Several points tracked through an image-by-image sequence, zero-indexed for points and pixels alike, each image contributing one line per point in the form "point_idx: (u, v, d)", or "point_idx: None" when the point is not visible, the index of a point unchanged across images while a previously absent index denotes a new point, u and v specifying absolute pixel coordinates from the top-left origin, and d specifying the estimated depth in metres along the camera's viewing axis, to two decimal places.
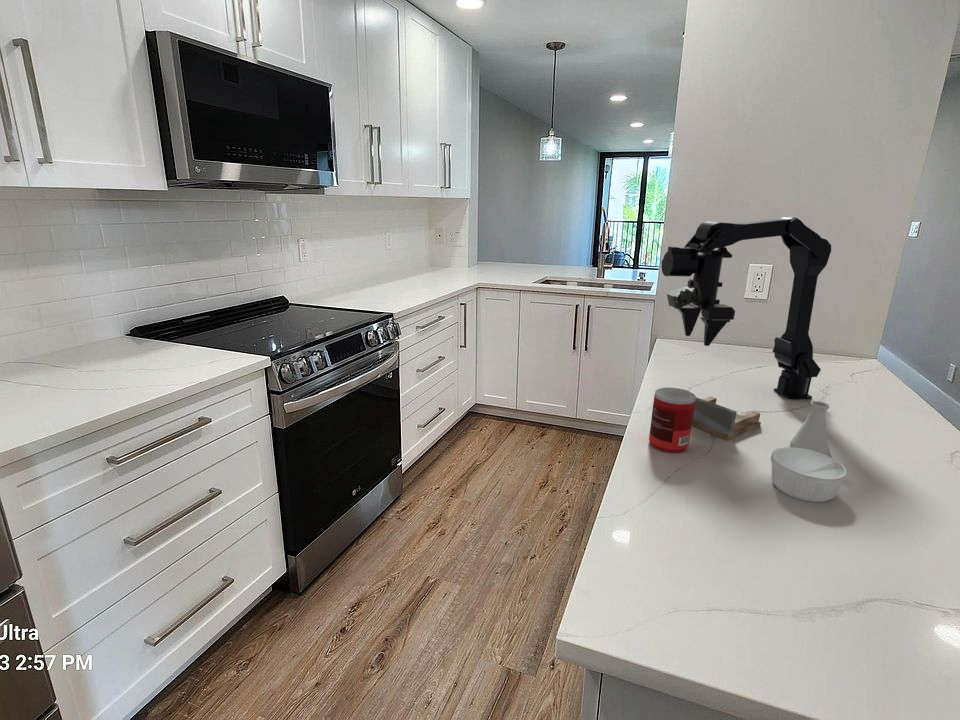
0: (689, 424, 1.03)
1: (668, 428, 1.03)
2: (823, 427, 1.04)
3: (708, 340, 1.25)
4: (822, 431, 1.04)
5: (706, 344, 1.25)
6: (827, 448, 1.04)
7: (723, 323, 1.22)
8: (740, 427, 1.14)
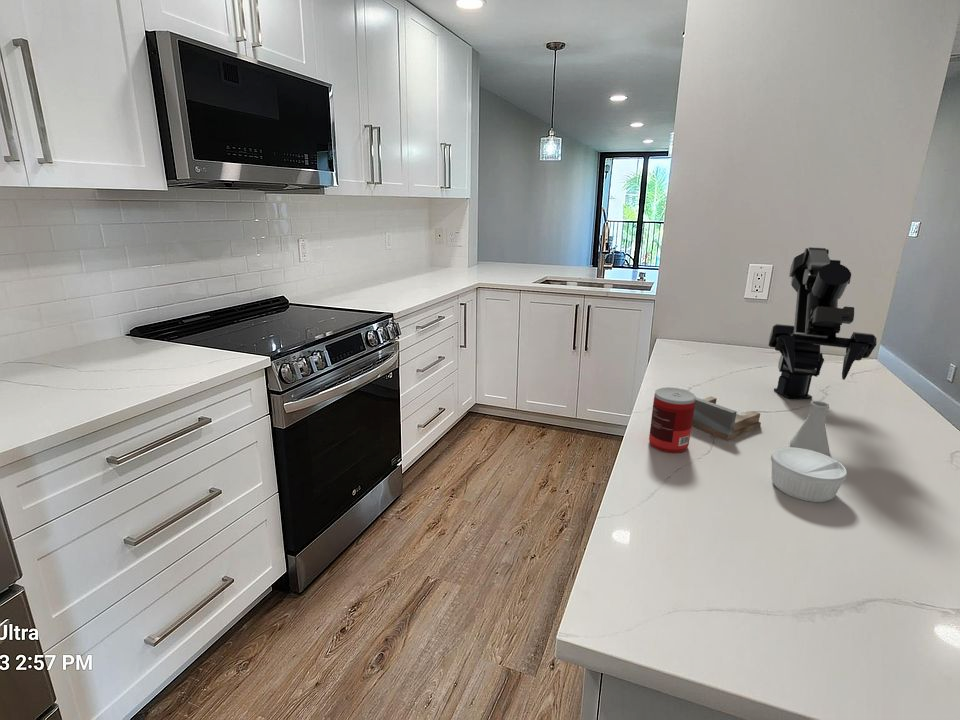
0: (689, 424, 1.03)
1: (668, 428, 1.03)
2: (823, 427, 1.04)
3: None
4: (822, 431, 1.04)
5: None
6: (827, 448, 1.04)
7: None
8: (740, 427, 1.14)
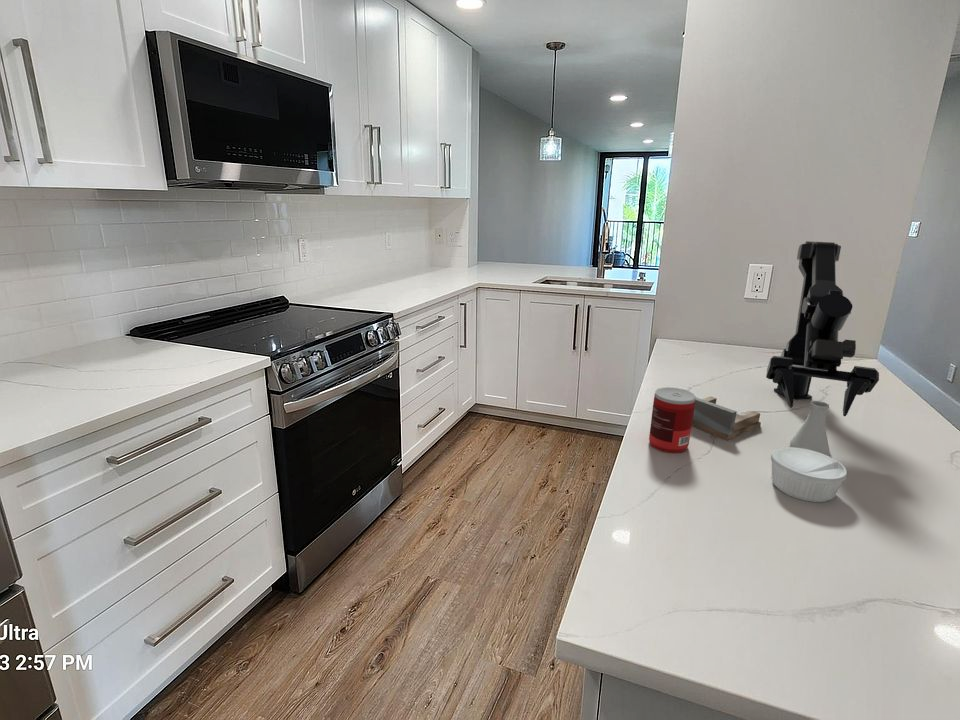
0: (689, 424, 1.03)
1: (668, 428, 1.03)
2: (823, 427, 1.04)
3: (849, 408, 1.04)
4: (822, 431, 1.04)
5: None
6: (827, 448, 1.04)
7: None
8: (740, 427, 1.14)
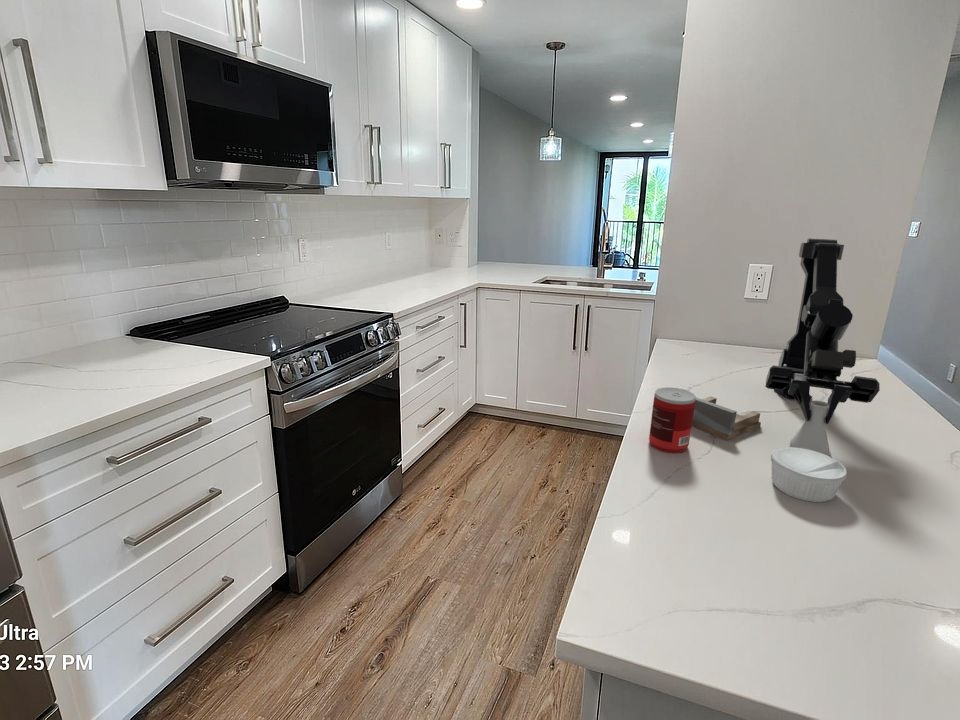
0: (689, 424, 1.03)
1: (668, 428, 1.03)
2: (823, 427, 1.04)
3: (831, 416, 1.04)
4: (822, 431, 1.04)
5: (829, 421, 1.03)
6: (827, 448, 1.04)
7: None
8: (740, 427, 1.14)
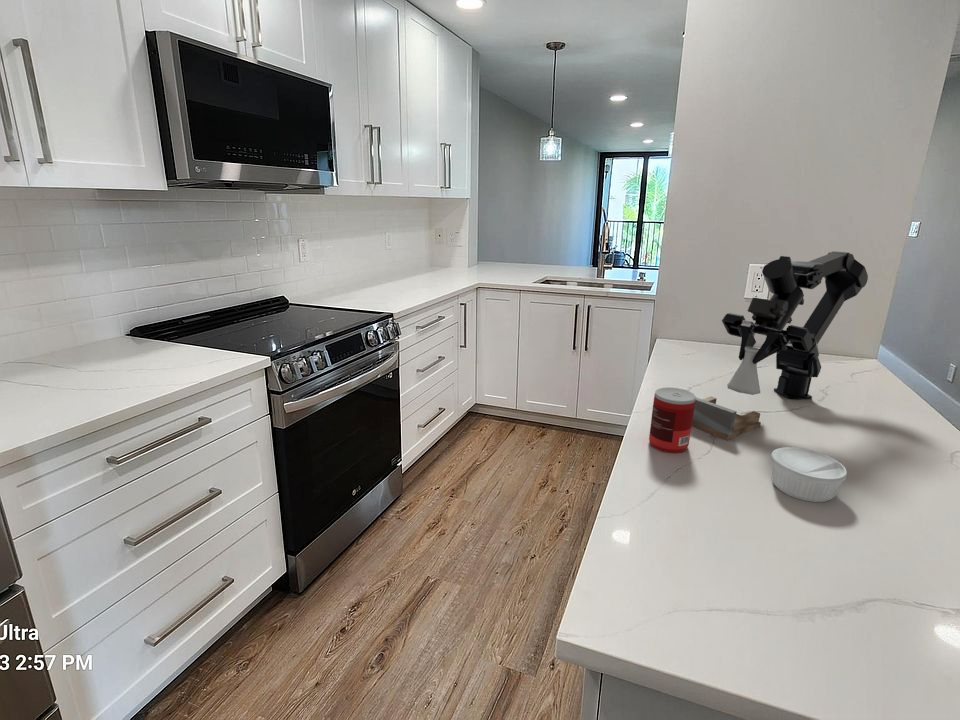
0: (689, 424, 1.03)
1: (668, 428, 1.03)
2: (750, 368, 1.19)
3: (759, 357, 1.18)
4: (749, 372, 1.19)
5: (755, 361, 1.18)
6: (751, 387, 1.19)
7: (777, 349, 1.19)
8: (740, 427, 1.14)
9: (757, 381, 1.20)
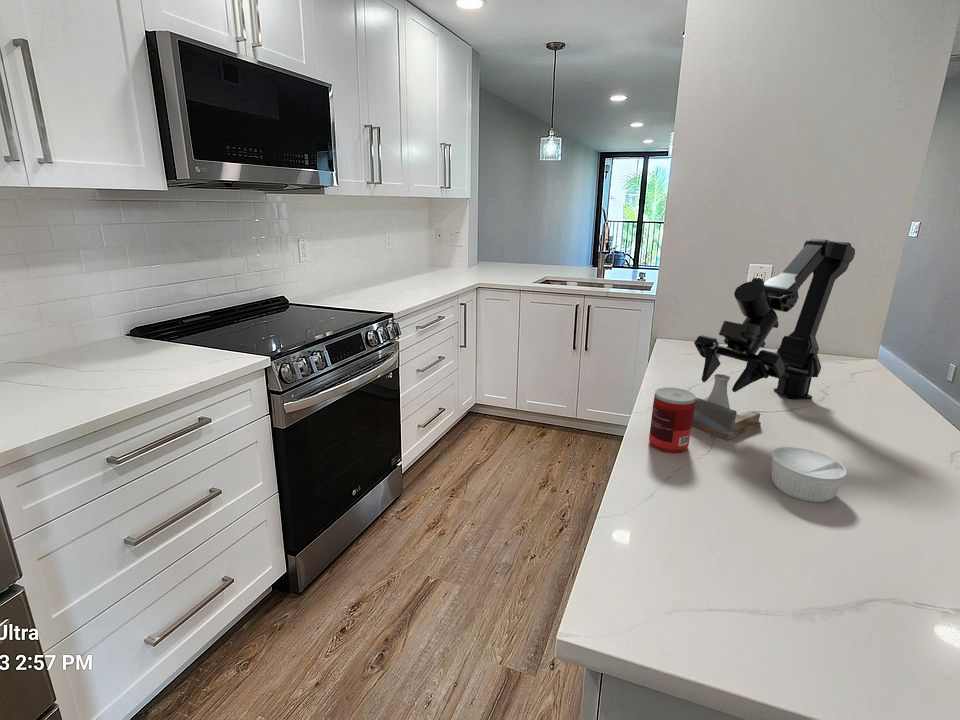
0: (689, 424, 1.03)
1: (668, 428, 1.03)
2: (721, 397, 1.15)
3: (739, 385, 1.12)
4: (719, 401, 1.15)
5: (735, 389, 1.12)
6: None
7: (758, 377, 1.13)
8: (740, 427, 1.14)
9: None
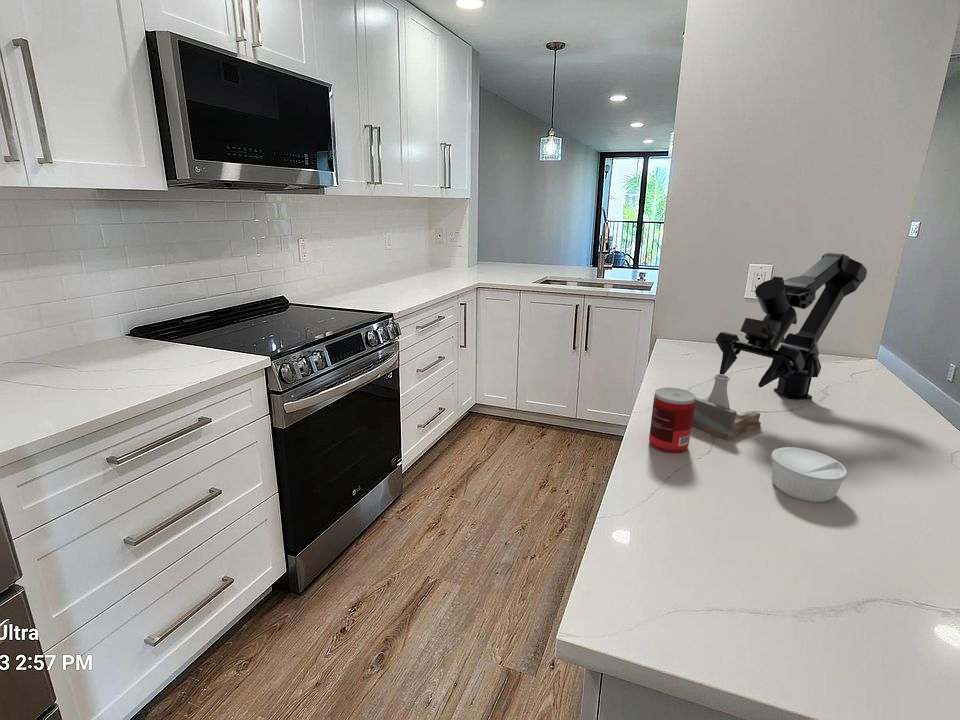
0: (689, 424, 1.03)
1: (668, 428, 1.03)
2: (721, 397, 1.15)
3: (765, 381, 1.16)
4: (719, 401, 1.15)
5: (761, 384, 1.16)
6: None
7: (783, 373, 1.17)
8: (740, 427, 1.14)
9: None
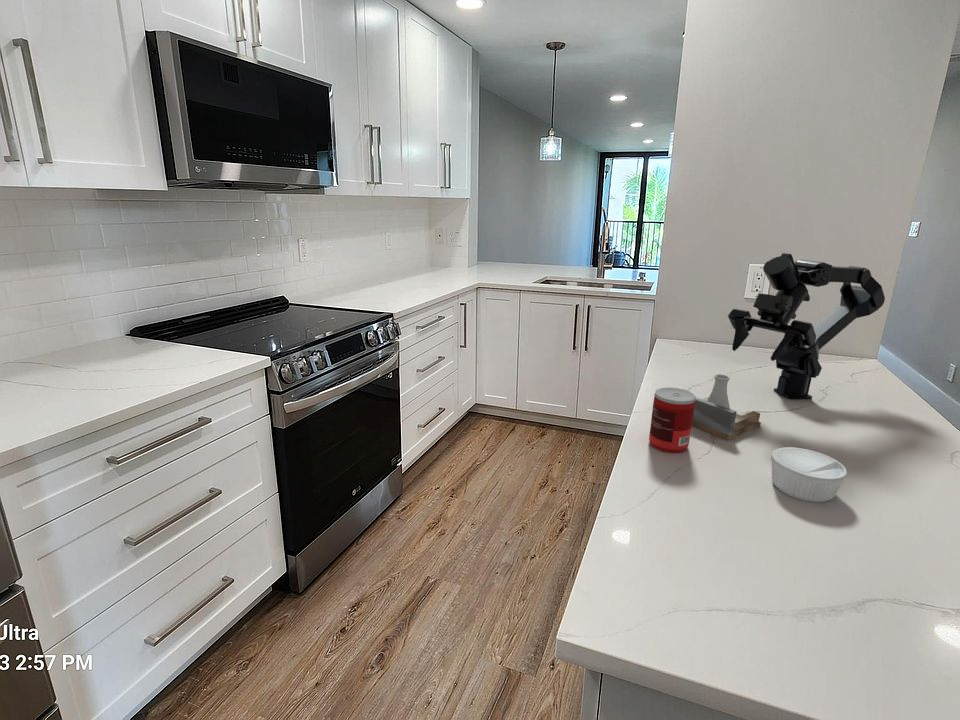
0: (689, 424, 1.03)
1: (668, 428, 1.03)
2: (721, 397, 1.15)
3: (777, 354, 1.19)
4: (719, 401, 1.15)
5: (773, 358, 1.19)
6: None
7: (795, 347, 1.21)
8: (740, 427, 1.14)
9: None
